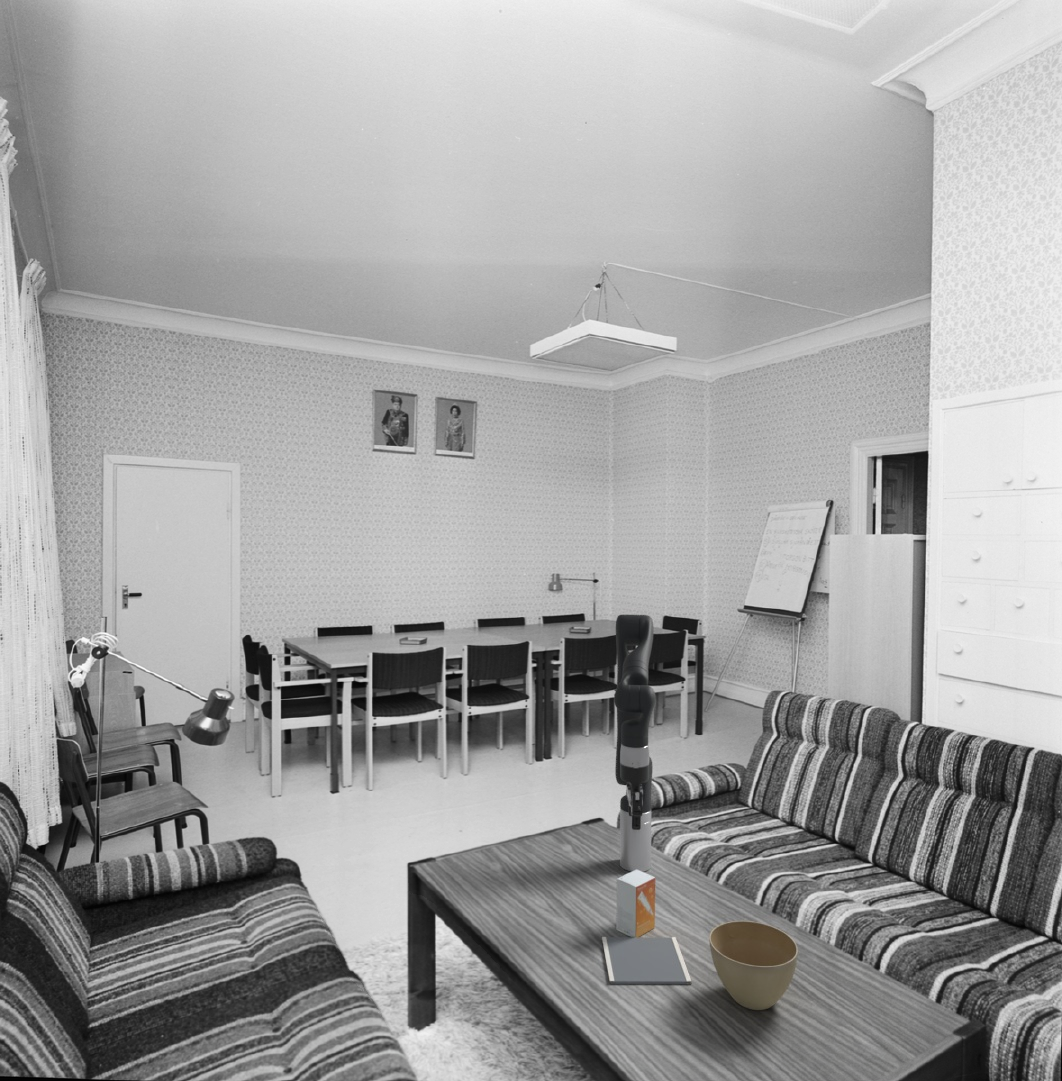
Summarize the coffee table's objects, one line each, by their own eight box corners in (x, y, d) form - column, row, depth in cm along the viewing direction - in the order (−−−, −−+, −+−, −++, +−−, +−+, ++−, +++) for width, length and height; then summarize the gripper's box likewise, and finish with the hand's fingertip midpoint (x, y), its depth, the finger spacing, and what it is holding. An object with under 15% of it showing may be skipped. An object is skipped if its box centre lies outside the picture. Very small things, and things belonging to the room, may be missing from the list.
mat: (601, 939, 183) (601, 936, 183) (675, 940, 183) (675, 937, 183) (609, 983, 165) (609, 980, 165) (691, 984, 165) (691, 981, 165)
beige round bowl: (736, 964, 173) (736, 912, 173) (812, 999, 160) (812, 942, 160) (692, 997, 160) (693, 941, 160) (771, 1038, 148) (771, 977, 147)
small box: (635, 940, 183) (636, 887, 183) (615, 930, 188) (615, 878, 188) (655, 928, 189) (656, 876, 189) (635, 918, 193) (636, 868, 193)
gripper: (618, 752, 203) (617, 811, 203) (622, 770, 189) (622, 833, 189) (645, 752, 203) (645, 812, 203) (652, 770, 188) (652, 834, 189)
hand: (634, 822), depth 196 cm, fingers open, 8 cm apart
